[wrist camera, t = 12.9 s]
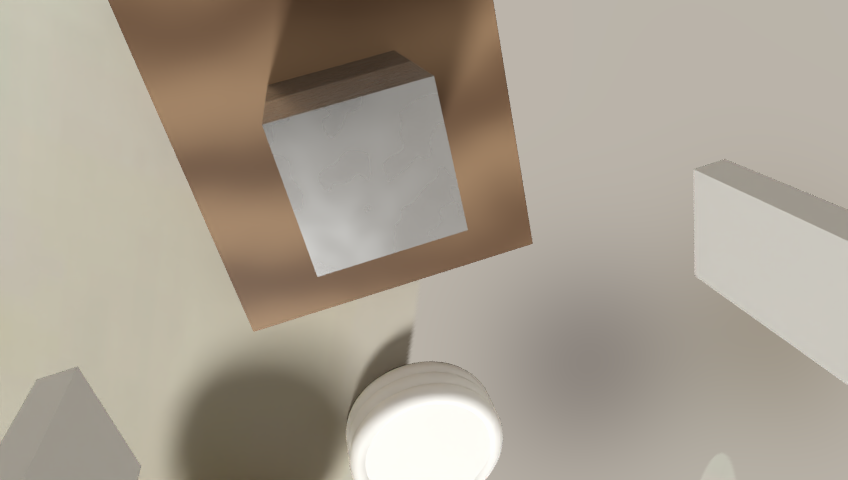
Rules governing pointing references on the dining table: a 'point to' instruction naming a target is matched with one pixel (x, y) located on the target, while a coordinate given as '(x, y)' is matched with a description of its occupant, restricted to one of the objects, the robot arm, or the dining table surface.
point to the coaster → (423, 426)
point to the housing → (364, 159)
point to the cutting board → (251, 154)
